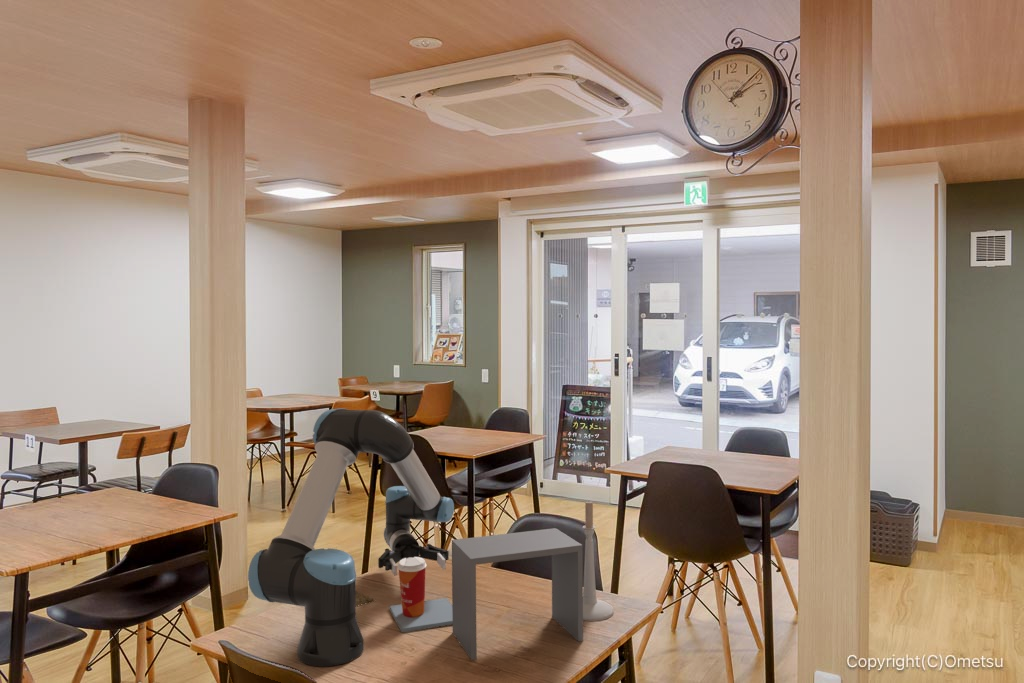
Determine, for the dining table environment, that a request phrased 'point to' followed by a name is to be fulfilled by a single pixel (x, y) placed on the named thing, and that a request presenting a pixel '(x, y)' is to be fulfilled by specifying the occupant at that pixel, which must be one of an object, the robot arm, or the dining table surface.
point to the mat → (425, 616)
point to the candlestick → (592, 576)
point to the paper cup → (412, 585)
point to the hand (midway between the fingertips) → (420, 567)
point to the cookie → (362, 599)
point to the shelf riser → (512, 548)
